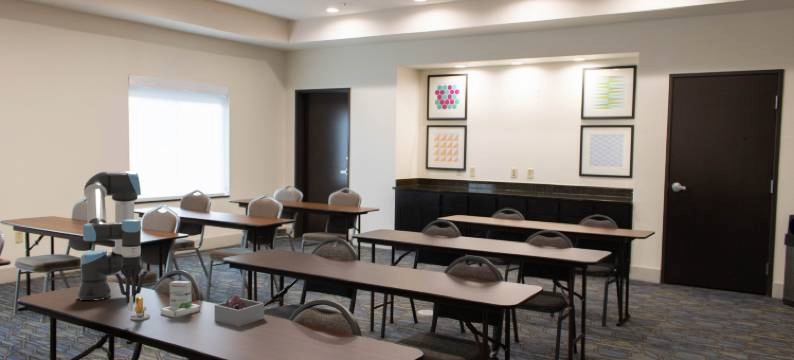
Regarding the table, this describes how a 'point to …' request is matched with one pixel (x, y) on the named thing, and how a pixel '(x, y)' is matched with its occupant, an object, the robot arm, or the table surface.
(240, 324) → the parts crate
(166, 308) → the tray
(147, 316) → the crank base
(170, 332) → the table surface
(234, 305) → the brake caliper
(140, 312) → the crank
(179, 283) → the ink box
